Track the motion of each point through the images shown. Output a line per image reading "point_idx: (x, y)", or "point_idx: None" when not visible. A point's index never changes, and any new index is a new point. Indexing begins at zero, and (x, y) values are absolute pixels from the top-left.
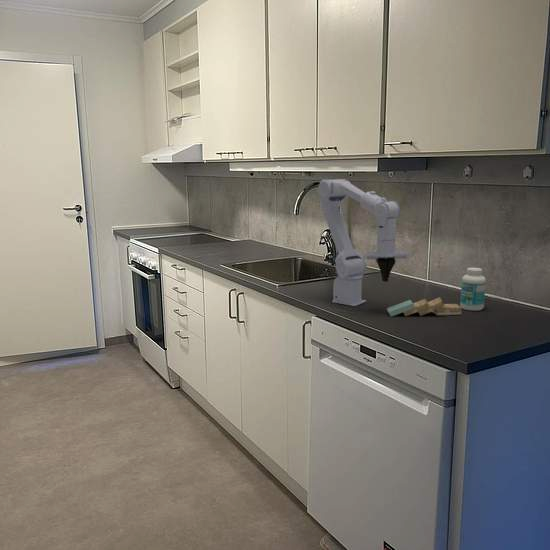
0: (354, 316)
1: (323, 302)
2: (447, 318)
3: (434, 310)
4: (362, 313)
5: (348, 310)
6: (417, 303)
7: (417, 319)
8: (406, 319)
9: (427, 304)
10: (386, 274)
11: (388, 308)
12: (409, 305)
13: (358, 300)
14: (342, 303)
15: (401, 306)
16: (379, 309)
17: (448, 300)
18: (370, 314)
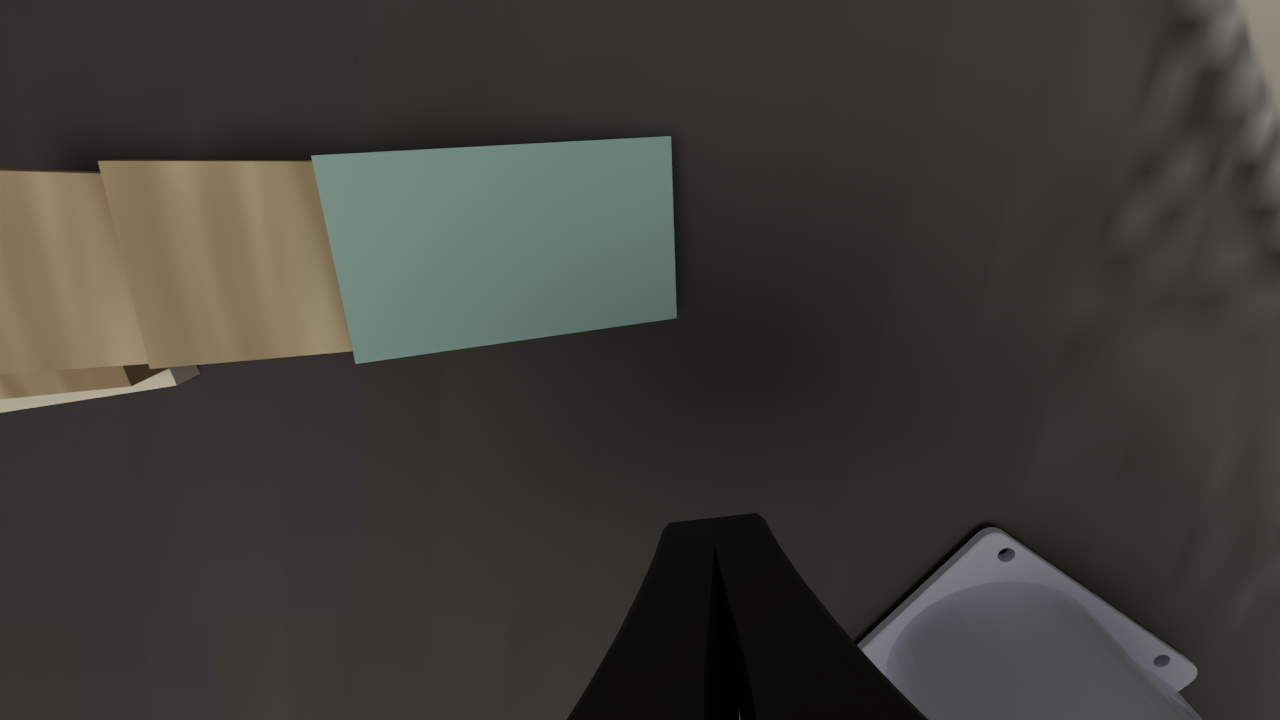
0: (1096, 124)
1: (1274, 663)
2: (15, 97)
3: None
4: (960, 265)
5: (1093, 382)
6: (274, 290)
7: (343, 28)
8: (472, 19)
9: (119, 162)
10: (714, 653)
11: (658, 291)
12: (377, 152)
13: (942, 624)
14: (1103, 600)
15: (494, 192)
16: (734, 429)
17: (80, 714)
18: (874, 225)
